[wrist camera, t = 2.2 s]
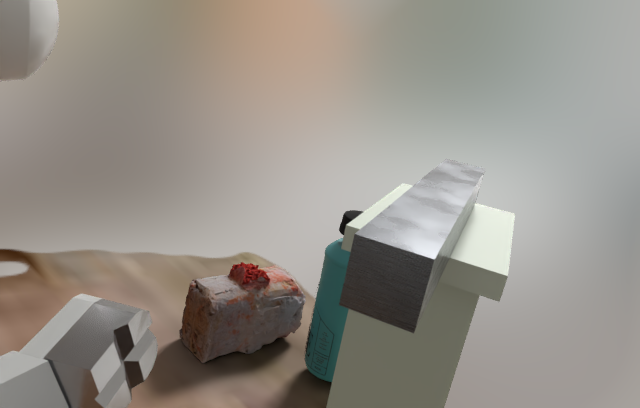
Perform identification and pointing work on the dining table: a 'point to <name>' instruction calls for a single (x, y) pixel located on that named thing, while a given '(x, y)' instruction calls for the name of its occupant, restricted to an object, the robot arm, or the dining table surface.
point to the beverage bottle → (329, 309)
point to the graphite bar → (410, 246)
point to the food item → (240, 311)
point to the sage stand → (422, 321)
